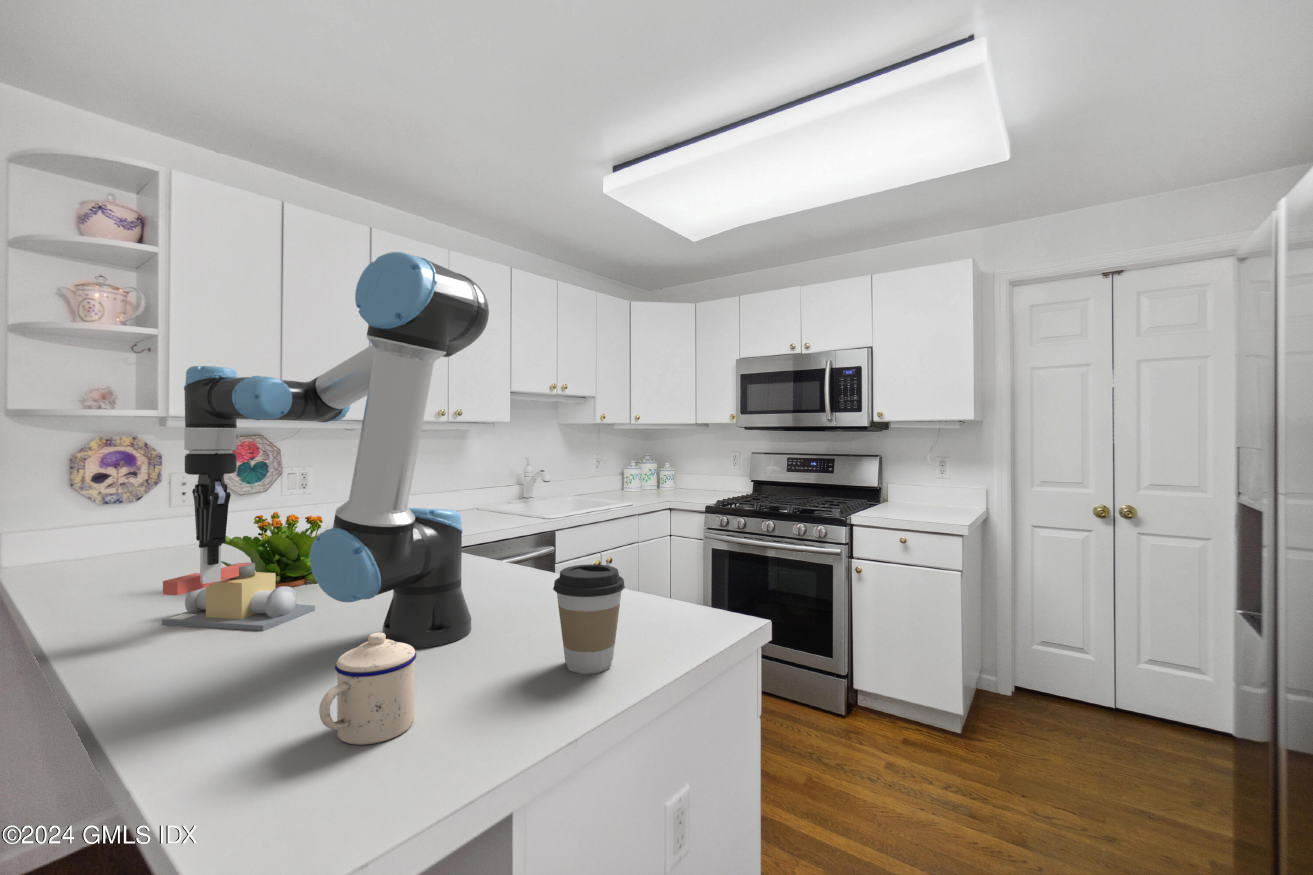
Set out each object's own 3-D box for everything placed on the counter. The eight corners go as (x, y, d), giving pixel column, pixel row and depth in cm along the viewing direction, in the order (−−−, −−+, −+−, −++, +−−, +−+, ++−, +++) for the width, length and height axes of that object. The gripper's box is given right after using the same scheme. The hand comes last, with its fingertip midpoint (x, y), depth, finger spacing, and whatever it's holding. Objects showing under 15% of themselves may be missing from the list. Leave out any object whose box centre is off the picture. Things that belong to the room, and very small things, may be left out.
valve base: (314, 610, 121) (314, 571, 121) (263, 630, 108) (263, 587, 108) (222, 604, 124) (222, 567, 124) (162, 624, 111) (162, 582, 111)
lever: (241, 573, 119) (241, 560, 119) (260, 574, 118) (260, 561, 118) (159, 596, 102) (159, 580, 102) (180, 597, 101) (181, 581, 101)
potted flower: (296, 600, 128) (296, 520, 128) (189, 599, 128) (189, 520, 128) (356, 573, 153) (356, 506, 153) (267, 572, 153) (267, 506, 153)
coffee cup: (635, 656, 96) (635, 565, 96) (607, 684, 85) (607, 582, 85) (573, 648, 100) (573, 560, 100) (539, 673, 89) (539, 575, 89)
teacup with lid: (380, 705, 78) (380, 619, 78) (432, 718, 75) (432, 628, 75) (294, 749, 67) (294, 649, 67) (349, 767, 64) (349, 661, 64)
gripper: (247, 452, 105) (247, 583, 105) (224, 450, 113) (223, 572, 113) (196, 453, 99) (195, 592, 99) (175, 451, 107) (174, 579, 107)
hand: (210, 581), depth 106 cm, fingers closed
